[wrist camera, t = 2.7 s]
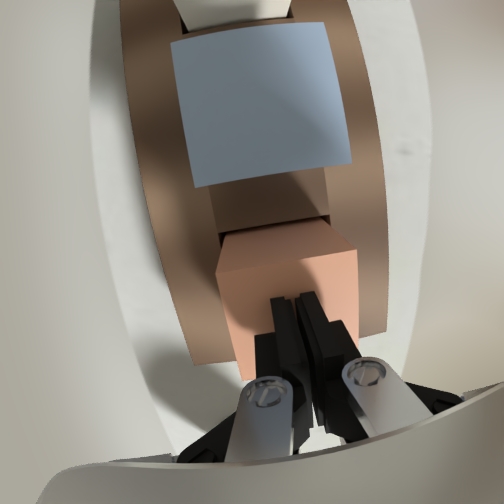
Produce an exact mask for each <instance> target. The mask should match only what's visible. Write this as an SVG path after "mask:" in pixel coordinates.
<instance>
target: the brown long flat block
mask: <svg viewBox="0 0 504 504" xmlns="http://www.w3.org/2000/svg"><path fill="white" fill-rule="evenodd" d="M120 22H121V37H122V50H123V61H124V70H125V79H126V88H127V95H128V103H129V110H130V117H131V123H132V129H133V135H134V141H135V147H136V152H137V158H138V163H139V168H140V173H141V178H142V183H143V188H144V193H145V197H146V202H147V206H148V210H149V215H150V219H151V223H152V227H153V231H154V235H155V239H156V243H157V247H158V251H159V255H160V258H161V262H162V266H163V269H164V273H165V276H166V280H167V283H168V287H169V290H170V293H171V297H172V300H173V303H174V306H175V310H176V313H177V316H178V319H179V322H180V325H181V328H182V331H183V334H184V337H185V340H186V343H187V346H188V349H189V352H190V355H191V358H192V360H193V363H194V365H202V364H212V363H221V362H230V361H237V360H236V356H235V352H234V348H233V344H232V340H231V336H230V332H229V328H228V324H227V320H226V316H225V312H224V308H223V304H222V300H221V296H220V291H219V287H218V283H217V279H216V274H215V273H216V269H217V265H218V261H219V257H220V254H221V250H222V246H223V242H224V238H225V235H226V231H231V230H237V229H243V228H249V227H254V226H260V225H266V224H272V223H278V222H284V221H291V220H297V219H303V218H309V217H316V216H319V217H320V218H322V219H323V220H324V221H325V222H326V223H327V224H329V225H330V226H331V227H332V228H333V229H334V230H336V231H337V232H338V233H339V234H340V235H341V236H342V237H344V238H345V239H346V240H347V241H348V242H349V243H350V244H351V245H353V246H354V247H355V248H356V249H357V261H358V290H359V338H363V337H367V336H371V335H375V334H379V333H383V332H386V329H387V313H388V286H389V246H388V219H387V202H386V189H385V178H384V169H383V160H382V152H381V144H380V137H379V130H378V124H377V118H376V112H375V107H374V101H373V96H372V91H371V86H370V82H369V77H368V73H367V68H366V64H365V60H364V56H363V52H362V48H361V45H360V41H359V37H358V34H357V30H356V27H355V24H354V20H353V17H352V14H351V11H350V8H349V5H348V2H347V0H291V2H290V6H289V9H288V12H287V16H286V19H275V20H265V21H255V22H247V23H240V24H233V25H227V26H221V27H216V28H211V29H206V30H201V31H196V32H192V33H189V31H188V29H187V27H186V25H185V23H184V21H183V19H182V17H181V15H180V13H179V11H178V9H177V7H176V5H175V3H174V1H173V0H120ZM307 22H324V25H325V29H326V33H327V36H328V40H329V44H330V48H331V52H332V56H333V60H334V64H335V69H336V73H337V78H338V82H339V87H340V92H341V97H342V102H343V108H344V113H345V119H346V125H347V131H348V137H349V144H350V150H351V158H352V164H344V165H336V166H327V167H319V168H311V169H304V170H297V171H290V172H283V173H276V174H270V175H264V176H258V177H252V178H246V179H240V180H234V181H229V182H223V183H218V184H213V185H208V186H203V187H198V188H195V186H194V181H193V176H192V170H191V165H190V160H189V155H188V149H187V144H186V138H185V133H184V127H183V121H182V115H181V110H180V104H179V97H178V91H177V85H176V79H175V72H174V65H173V58H172V51H171V44H170V43H172V42H176V41H180V40H184V39H188V38H192V37H196V36H201V35H206V34H210V33H216V32H221V31H227V30H233V29H239V28H247V27H254V26H263V25H273V24H286V23H307Z"/></svg>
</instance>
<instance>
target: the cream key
mask: <svg viewBox="0 0 504 504" xmlns="http://www.w3.org/2000/svg"><path fill="white" fill-rule="evenodd" d="M173 1H174V3H175V5H176V7H177V9H178V11H179V13H180V15H181V17H182V19H183V21H184V23H185V25H186V27H187V29H188V31H189V33H192V32H196V31H201V30H206V29H211V28H216V27H221V26H227V25H233V24H240V23H247V22H255V21H265V20H275V19H286V16H287V12H288V9H289V6H290V2H291V0H173Z"/></svg>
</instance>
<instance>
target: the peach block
mask: <svg viewBox="0 0 504 504" xmlns="http://www.w3.org/2000/svg"><path fill="white" fill-rule="evenodd" d="M215 274H216V279H217V283H218V287H219V291H220V296H221V300H222V304H223V308H224V312H225V316H226V320H227V324H228V328H229V332H230V336H231V340H232V344H233V348H234V352H235V356H236V360H237V363H238V367H239V371H240V375H241V378H242V381H245V380H253V379H256V369H255V345H254V335H258V334H265V333H271V332H275V329H274V322H273V316H272V310H271V304H270V298H276V297H282V296H284V298H285V300H287V299H291V303H292V306H293V309H294V313H295V316H296V320H297V315H296V307H295V298H298V297H300V293H304V292H310V291H315V293H316V295H317V298H318V300H319V302H320V304H321V306H322V308H323V310H324V312H325V314H326V316H327V318H328V320H329V322H331V321H336V320H342V321H343V323H344V325H345V326H346V328H347V330H348V332H349V334H350V336H351V338H352V339H353V341H354V343H355V345H356V347H357V349H358V339H359V290H358V261H357V249H356V248H355V247H354V246H353V245H351V244H350V243H349V242H348V241H347V240H346V239H345V238H344V237H342V236H341V235H340V234H339V233H338V232H337V231H336V230H334V229H333V228H332V227H331V226H330V225H329V224H327V223H326V222H325V221H324V220H323V219H322V218H320V217H319V216H316V217H309V218H303V219H297V220H291V221H284V222H278V223H272V224H266V225H260V226H254V227H249V228H243V229H237V230H231V231H226V235H225V238H224V242H223V246H222V250H221V254H220V257H219V261H218V265H217V269H216V273H215Z"/></svg>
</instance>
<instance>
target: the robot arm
mask: <svg viewBox="0 0 504 504" xmlns="http://www.w3.org/2000/svg"><path fill="white" fill-rule="evenodd" d="M270 304H271V310H272V316H273V322H274V329H275V332H271V333H265V334H258V335H254V345H255V369H256V379H254V380H253V381H251V382H249V383H248V384H247V385H246V386H245V387H244V388H243V390H242V392H241V395H240V399H239V403H238V407H237V411H236V412H234V413H233V414H232V415H230V416H229V417H228V418H227V419H225V420H224V421H223V422H221V423H220V424H219V425H217V426H216V427H215V428H213V429H212V430H211V431H209V432H208V433H207V434H205V435H204V436H202V437H201V438H200V439H198V440H197V441H195V442H194V443H193V444H191V445H190V446H188V447H187V448H186V449H185V450H183V451H182V452H181V453H180V455H178V456H172V454H171V453H169V454H163V455H156V456H149V457H140V458H131V459H120V460H113V461H109V462H104V463H92V464H86V465H80V466H75V467H71V468H68V469H66V470H63V471H61V472H59V473H58V474H56V475H55V476H54V477H53V478H52V479H51V480H50V481H49V483H48V484H47V485H46V487H45V488H44V490H43V492H42V493H41V495H40V497H39V498H38V500H37V502H36V504H504V382H500V383H497V384H494V385H490V386H487V387H484V388H480V389H476V390H472V391H468V392H464V393H462V395H461V397H459V396H457V395H455V394H452V393H449V392H444V391H440V390H436V389H432V388H427V387H423V386H419V385H415V384H411V383H408V382H404V381H403V380H402V379H401V378H400V377H399V376H398V374H397V373H396V372H395V371H394V370H393V369H392V368H391V367H390V366H389V364H387V363H386V362H385V361H384V360H381V359H379V358H375V357H362V356H361V354H360V352H359V351H358V349H357V347H356V345H355V343H354V341H353V339H352V338H351V336H350V334H349V332H348V330H347V328H346V326H345V325H344V323H343V321H342V320H336V321H331V322H329V320H328V318H327V316H326V314H325V312H324V310H323V308H322V306H321V304H320V302H319V300H318V298H317V295H316V293H315V291H310V292H304V293H300V297H298V298H295V307H296V315H297V320H296V316H295V313H294V309H293V306H292V303H291V299H287V300H285V298H284V296H282V297H276V298H270ZM312 403H313V407H314V411H315V415H316V420H317V424H318V426H323V425H324V427H325V431H326V434H327V433H332V434H335V435H337V436H339V437H340V442H341V446H337V447H332V448H328V449H323V450H318V451H313V452H308V453H302V454H300V446H301V445H302V444H303V443H304V442H305V441H306V440H307V439H308V438H309V437H310V433H309V428H313V410H312Z"/></svg>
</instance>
